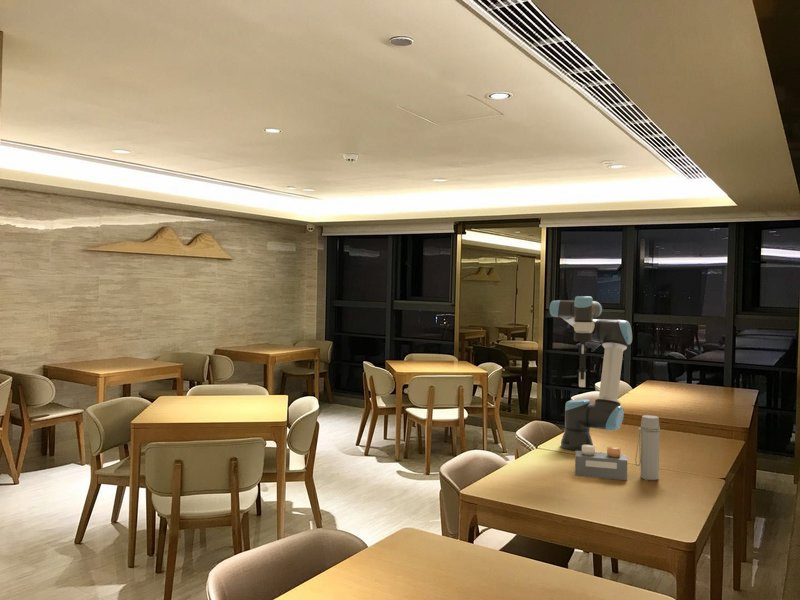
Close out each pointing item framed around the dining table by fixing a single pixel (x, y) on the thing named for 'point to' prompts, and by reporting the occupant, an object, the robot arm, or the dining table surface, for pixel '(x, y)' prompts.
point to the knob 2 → (613, 451)
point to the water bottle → (649, 447)
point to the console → (601, 466)
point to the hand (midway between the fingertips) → (582, 386)
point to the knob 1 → (588, 449)
